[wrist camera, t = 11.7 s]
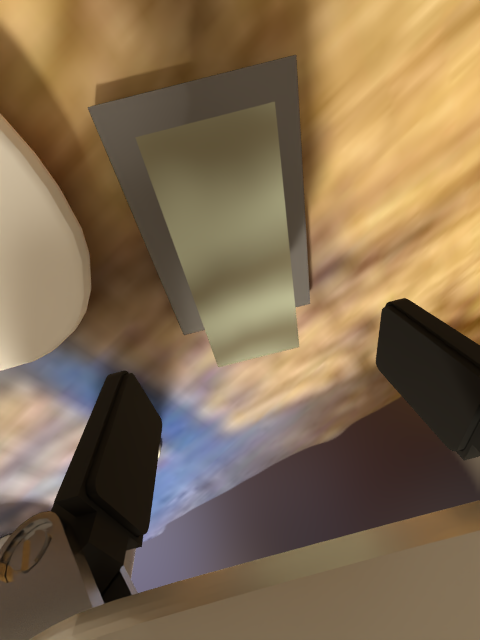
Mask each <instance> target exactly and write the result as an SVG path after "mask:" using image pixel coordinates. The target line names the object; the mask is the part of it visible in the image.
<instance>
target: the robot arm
mask: <svg viewBox="0 0 480 640" xmlns="http://www.w3.org/2000/svg"><path fill="white" fill-rule="evenodd" d="M376 365H377V367H378V369H379V371H380V372H381V373H382V374H383V375H384V376H385V377H386V379H387V380H388V381H389V382H390V383H391V384H392V385H393V386H394V388H395V389H396V390H397V391H398V392H399V393H400V394H401V396H402V397H403V398H404V399H405V400H406V401H407V402H408V403H409V405H411V407H412V408H413V409H414V410H415V411H416V413H417V414H418V415H419V416H420V417H421V418H422V419H423V420H424V422H425V423H426V424H427V425H428V426H429V427H430V428H431V430H432V431H433V432H434V433H435V434H436V435H437V436H438V437H439V439H440V440H441V441H442V442H443V443H444V444H445V445H446V446H447V447H448V448H449V449H450V450H452V451H456V452H457V453H458V454H459V455H460V457H461V458H462V459H463V460H467V459H471V458H475V457H478V456H480V345H478V344H477V343H475V342H474V341H472V340H471V339H469V338H467V337H466V336H464V335H463V334H461V333H460V332H458V331H457V330H455V329H453V328H452V327H450V326H449V325H447V324H446V323H444V322H443V321H441V320H439V319H438V318H436V317H435V316H433V315H432V314H430V313H429V312H427V311H425V310H424V309H422V308H421V307H419V306H418V305H416V304H415V303H413V302H411V301H410V300H408V299H406V298H403V299H399V300H395V301H391V302H388V303H387V304H386V306H385V307H384V308H383V309H382V313H381V322H380V330H379V338H378V347H377V355H376ZM161 432H162V421H161V418H160V416H159V414H158V413H157V411H156V410H155V408H154V406H153V405H152V403H151V401H150V400H149V398H148V397H147V395H146V393H145V392H144V390H143V389H142V387H141V385H140V384H139V382H138V381H137V379H136V377H135V376H134V374H132V373H130V374H129V373H128V372H127V371H121V372H117V373H114V374H110V375H108V376H107V378H106V380H105V382H104V385H103V387H102V389H101V392H100V394H99V397H98V399H97V401H96V404H95V406H94V408H93V411H92V413H91V416H90V418H89V420H88V423H87V425H86V427H85V430H84V432H83V434H82V437H81V439H80V442H79V444H78V446H77V449H76V451H75V453H74V456H73V458H72V461H71V463H70V465H69V468H68V470H67V472H66V475H65V477H64V480H63V482H62V484H61V487H60V489H59V491H58V494H57V496H56V498H55V501H54V502H55V503H54V505H53V508H52V510H51V512H50V511H47V512H41V513H39V514H37V515H34V516H32V517H31V518H29V519H28V520H27V521H25V522H24V523H23V524H21V525H20V526H19V527H18V528H17V529H16V530H15V531H14V532H13V533H12V534H11V535H10V537H9V538H8V539H7V541H6V542H5V543H4V544H3V546H2V547H1V549H0V640H480V500H479V501H475V502H472V503H467V504H464V505H460V506H456V507H452V508H448V509H445V510H441V511H437V512H433V513H429V514H426V515H422V516H418V517H414V518H411V519H407V520H403V521H399V522H395V523H392V524H388V525H384V526H380V527H377V528H373V529H369V530H365V531H362V532H358V533H355V534H351V535H347V536H343V537H339V538H336V539H332V540H329V541H325V542H321V543H317V544H314V545H310V546H306V547H303V548H299V549H295V550H291V551H287V552H284V553H280V554H276V555H273V556H269V557H265V558H262V559H258V560H254V561H251V562H247V563H244V564H240V565H236V566H233V567H229V568H225V569H222V570H218V571H214V572H211V573H208V574H203V575H200V576H196V577H193V578H189V579H185V580H182V581H178V582H175V583H171V584H168V585H165V586H161V587H158V588H155V589H151V590H148V591H144V592H141V593H138V592H137V590H136V588H135V587H134V585H133V583H132V581H131V574H132V568H133V562H134V556H135V550H136V548H138V547H142V540H143V534H146V533H147V531H148V528H149V523H150V515H151V508H152V500H153V492H154V485H155V477H156V470H157V462H158V458H159V457H160V452H161V445H160V439H161Z"/></svg>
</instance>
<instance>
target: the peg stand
mask: <svg viewBox="0 0 480 640" xmlns="http://www.w3.org/2000/svg"><path fill="white" fill-rule="evenodd" d="M271 102H275V108H276V118H277V128H278V138H279V148H280V158H281V168H282V178H283V188H284V198H285V208H286V218H287V228H288V238H289V248H290V258H291V268H292V278H293V289H294V299H295V307H299V306H303V305H307V304H310V293H309V275H308V257H307V239H306V221H305V203H304V185H303V167H302V149H301V131H300V114H299V96H298V78H297V60H296V55H293V56H289V57H285V58H281V59H277V60H273V61H269V62H265V63H261V64H257V65H253V66H249V67H246V68H242V69H238V70H234V71H230V72H226V73H222V74H218V75H214V76H210V77H206V78H202V79H198V80H194V81H190V82H186V83H182V84H178V85H174V86H170V87H166V88H162V89H158V90H154V91H150V92H146V93H142V94H139V95H135V96H131V97H127V98H123V99H119V100H115V101H111V102H107V103H103V104H99V105H95V106H91V107H88V110H89V112H90V114H91V117H92V119H93V121H94V124H95V126H96V129H97V131H98V133H99V136H100V138H101V140H102V143H103V145H104V147H105V150H106V152H107V155H108V157H109V159H110V162H111V164H112V166H113V169H114V171H115V173H116V176H117V178H118V181H119V183H120V185H121V188H122V190H123V192H124V195H125V197H126V199H127V202H128V204H129V207H130V209H131V211H132V214H133V216H134V218H135V221H136V223H137V225H138V228H139V230H140V233H141V235H142V237H143V240H144V242H145V244H146V247H147V249H148V251H149V254H150V256H151V259H152V261H153V263H154V266H155V268H156V270H157V273H158V275H159V277H160V280H161V282H162V285H163V287H164V289H165V292H166V294H167V296H168V299H169V301H170V303H171V306H172V308H173V311H174V313H175V315H176V318H177V320H178V322H179V325H180V327H181V329H182V332H183V334H184V335H187V334H191V333H195V332H199V331H203V330H205V329H204V326H203V323H202V320H201V318H200V315H199V312H198V309H197V307H196V304H195V301H194V298H193V296H192V293H191V290H190V287H189V285H188V282H187V279H186V276H185V274H184V271H183V268H182V265H181V262H180V260H179V257H178V254H177V251H176V249H175V246H174V243H173V240H172V238H171V235H170V232H169V229H168V227H167V224H166V221H165V218H164V216H163V213H162V210H161V207H160V204H159V202H158V199H157V196H156V193H155V191H154V188H153V185H152V182H151V180H150V177H149V174H148V171H147V169H146V166H145V163H144V160H143V157H142V155H141V152H140V149H139V146H138V144H137V141H136V138H135V137H139V136H143V135H147V134H150V133H154V132H158V131H162V130H166V129H170V128H174V127H178V126H182V125H186V124H189V123H193V122H197V121H201V120H205V119H209V118H213V117H217V116H221V115H225V114H228V113H232V112H236V111H240V110H244V109H248V108H252V107H256V106H260V105H264V104H268V103H271Z"/></svg>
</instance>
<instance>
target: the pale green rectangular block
mask: <svg viewBox="0 0 480 640" xmlns="http://www.w3.org/2000/svg"><path fill="white" fill-rule="evenodd" d="M135 138H136V141H137V144H138V146H139V149H140V152H141V155H142V157H143V160H144V163H145V166H146V169H147V171H148V174H149V177H150V180H151V182H152V185H153V188H154V191H155V193H156V196H157V199H158V202H159V204H160V207H161V210H162V213H163V216H164V218H165V221H166V224H167V227H168V229H169V232H170V235H171V238H172V240H173V243H174V246H175V249H176V251H177V254H178V257H179V260H180V262H181V265H182V268H183V271H184V274H185V276H186V279H187V282H188V285H189V287H190V290H191V293H192V296H193V298H194V301H195V304H196V307H197V309H198V312H199V315H200V318H201V320H202V323H203V326H204V329H205V332H206V334H207V337H208V340H209V343H210V345H211V348H212V351H213V354H214V356H215V359H216V362H217V365H218V367H222V366H226V365H230V364H234V363H238V362H242V361H246V360H250V359H254V358H258V357H262V356H266V355H270V354H274V353H278V352H282V351H286V350H290V349H294V348H298V347H299V339H298V329H297V319H296V309H295V299H294V289H293V278H292V268H291V258H290V248H289V238H288V228H287V218H286V208H285V198H284V188H283V178H282V168H281V158H280V148H279V138H278V128H277V118H276V108H275V102H271V103H268V104H264V105H260V106H256V107H252V108H248V109H244V110H240V111H236V112H232V113H228V114H225V115H221V116H217V117H213V118H209V119H205V120H201V121H197V122H193V123H189V124H186V125H182V126H178V127H174V128H170V129H166V130H162V131H158V132H154V133H150V134H147V135H143V136H139V137H135Z"/></svg>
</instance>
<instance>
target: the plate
mask: <svg viewBox="0 0 480 640" xmlns="http://www.w3.org/2000/svg"><path fill="white" fill-rule="evenodd" d="M90 292H91V271H90V254H89V251H88V247H87V244H86V241H85V237H84V234H83V231H82V228H81V226H80V224H79V222H78V220H77V218H76V217H75V215H74V213H73V211H72V209H71V207H70V206H69V204H68V202H67V200H66V198H65V196H64V195H63V193H62V191H61V189H60V187H59V186H58V184H57V183H56V182H55V180H54V179H53V177H52V176H51V174H50V173H49V172H48V170H47V169H46V167H45V166H44V165H43V163H42V162H41V160H40V159H39V157H38V156H37V155H36V153H35V152H34V151H33V150H32V149H31V148H30V147H29V145H28V144H27V143H26V142H25V141H24V140H23V139H22V137H21V136H20V135H19V134H18V133H17V132H16V131H15V129H14V128H13V127H12V126H11V125H10V124H9V123H8V121H7V120H6V119H5V118H4V117H3V116H2V114H1V113H0V371H1V370H5V369H8V368H12V367H15V366H18V365H22V364H25V363H29V362H32V361H35V360H37V359H39V358H41V357H43V356H44V355H46V354H48V353H50V352H52V351H53V350H54V349H56V348H57V347H58V346H59V345H60V344H61V343H62V342H63V341H64V340H65V339H66V338H67V337H68V336H69V335H71V334H72V333H73V332H74V331H75V330H76V328H77V327H78V325H79V323H80V322H81V320H82V318H83V316H84V314H85V313H86V310H87V306H88V301H89V297H90Z"/></svg>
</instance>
